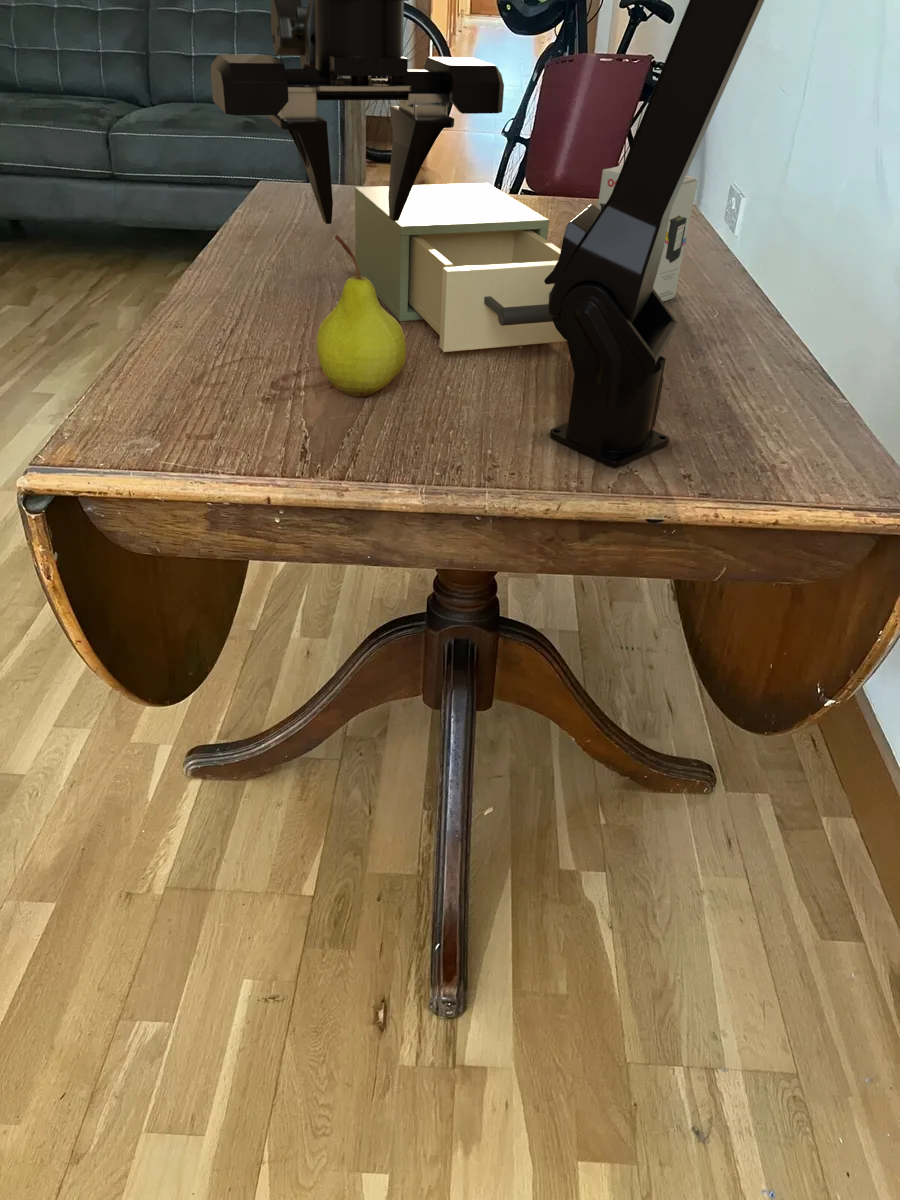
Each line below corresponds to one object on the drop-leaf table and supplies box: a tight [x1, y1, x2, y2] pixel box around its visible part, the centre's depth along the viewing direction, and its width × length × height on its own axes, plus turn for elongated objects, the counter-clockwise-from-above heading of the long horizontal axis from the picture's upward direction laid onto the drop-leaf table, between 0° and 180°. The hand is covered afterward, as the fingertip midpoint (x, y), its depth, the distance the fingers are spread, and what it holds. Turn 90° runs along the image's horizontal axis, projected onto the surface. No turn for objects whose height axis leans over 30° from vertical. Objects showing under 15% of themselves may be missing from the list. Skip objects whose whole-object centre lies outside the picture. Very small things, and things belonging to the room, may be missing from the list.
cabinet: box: [354, 182, 550, 322], centre depth 94 cm, size 16×15×9 cm
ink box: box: [596, 164, 698, 302], centre depth 96 cm, size 9×5×12 cm, turn 45°
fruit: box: [316, 234, 407, 398], centre depth 71 cm, size 7×7×12 cm
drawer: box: [408, 230, 567, 353], centre depth 84 cm, size 19×13×7 cm
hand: (360, 221), depth 67 cm, fingers open, 5 cm apart
